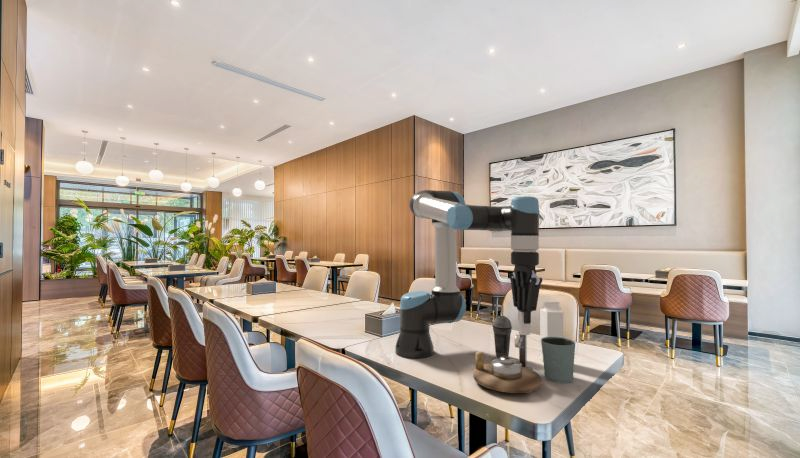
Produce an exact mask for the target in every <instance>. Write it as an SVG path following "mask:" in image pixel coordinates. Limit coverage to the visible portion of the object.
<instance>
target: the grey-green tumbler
mask: <svg viewBox="0 0 800 458" xmlns="http://www.w3.org/2000/svg"><path fill="white" fill-rule="evenodd" d="M541 344H542V353H543V361H542V362H543V371H544V372H543V373H544V377H545V378H546V379H547V380H549V382H550V381H551V382H555V383H559V384H570V383H572V382H573V381H574V370H575V369H574V368H575V365H574V364H575V357H576V356H575V355H576V353H575V352H576V342H575V341H574V340H572V339H570V338H565V337H564V338H561V337H545V338H542V339H541Z"/></svg>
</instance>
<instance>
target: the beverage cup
mask: <svg viewBox="0 0 800 458" xmlns="http://www.w3.org/2000/svg"><path fill="white" fill-rule="evenodd" d="M492 322H493V323H492V325H491V326H492V329H493V330H492V331H493V339H494V348H495V357H496V359H498V358H500V357H501V356H510V346H511V345H510V344H511V334H512V329H513V326H512V322H511V320H510V318H508V317H507V316H505V315H504V304H502V305H501V315H498V316H496V317H495V318H494V320H493V321H492Z"/></svg>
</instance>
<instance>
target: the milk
mask: <svg viewBox="0 0 800 458" xmlns="http://www.w3.org/2000/svg"><path fill="white" fill-rule="evenodd" d="M539 333H540V334H539V337H540V338H539V343H540V344H539V346H540V347H539V348H540V350H539V352H540V353H539V354H540V355H539V357H540V361H541V362H543V353H542V344H541V339H542V338H545V337H561V338H565V337H564V311H563V309H562V308H561V306H560V302H559V301H543V306H542V307H541V308H539Z"/></svg>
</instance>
